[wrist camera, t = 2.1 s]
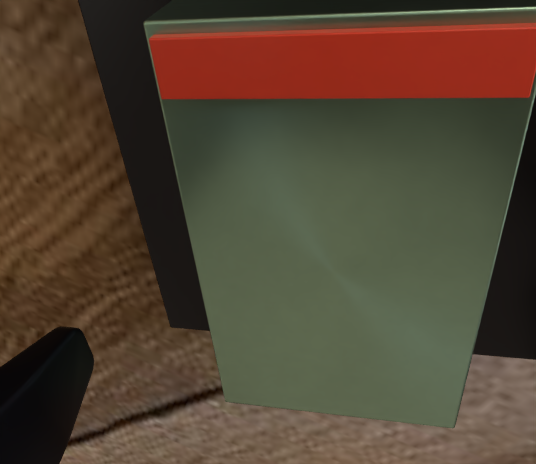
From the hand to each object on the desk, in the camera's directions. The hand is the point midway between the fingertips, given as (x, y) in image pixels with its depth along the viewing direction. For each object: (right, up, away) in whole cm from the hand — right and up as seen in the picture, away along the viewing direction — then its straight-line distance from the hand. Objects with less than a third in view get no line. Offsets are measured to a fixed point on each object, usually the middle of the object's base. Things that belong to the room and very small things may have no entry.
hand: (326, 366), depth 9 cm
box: (+1, +4, +6) cm, 7 cm away
